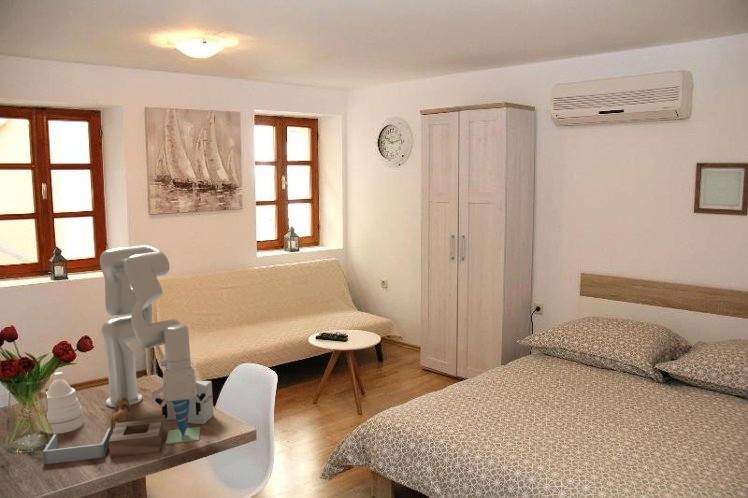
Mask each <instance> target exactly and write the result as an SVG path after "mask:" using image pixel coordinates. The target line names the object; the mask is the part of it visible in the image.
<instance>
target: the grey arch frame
mask: <svg viewBox="0 0 748 498" xmlns="http://www.w3.org/2000/svg"><path fill="white" fill-rule="evenodd" d="M110 437H111V427H110V428H109V427H108V428H107V430H106V432H105V434H104V436H103V438H102V441H101V443H97V444H86V445H79V446H70V447H62V448H60V447H59V445H58V443H59V442H58V434H52V436H51V438H50V440H49V442H48V443H47V444H46V445H45V448H44V449H43V451H42V459H43V465H44V464H45V465H52V464H60V462H61V463H67V462H69V463H70V462H76V461H83V460H84V461H85V460H94V459H100V458H105V457H106V455H107V453H108V450H109V440H110ZM58 447H59V448H58Z"/></svg>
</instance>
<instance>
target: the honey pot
mask: <svg viewBox="0 0 748 498" xmlns="http://www.w3.org/2000/svg"><path fill="white" fill-rule="evenodd" d="M63 374H64V373H63V371H58V372H54V378H56V379H54V380H52V383H50V385H49V387H48V389H47V391H45V392H46V394H47V400H48V412H47V419H48V422H49V423H50V425H51V427H52V429H53V431H54V432H55V433H56V434H57V435H58V434H59V433H60V434H65V432H66V433H68V432H72V431H76V430H77V429H79V428H81V427H82V426H83V425H84V422H85V421H84V411H83V407H82V405H81V403H80V401H79V399H78V397H77V395H76V389H75V388H73V387H71V386H70V384H69V383H68V382H67V381H66V380H65V379H64V378H62V377H63Z"/></svg>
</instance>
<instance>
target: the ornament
mask: <svg viewBox="0 0 748 498" xmlns="http://www.w3.org/2000/svg"><path fill="white" fill-rule="evenodd" d="M172 402H173V404H174V407H173V408H174V411H175V412H176V414H175V415H176V420H177V423H176V424H177V427H178V429H180V431H181V434H182V435H184V434H185V431H186V429H187V428H188V423H187V422H188V413H189V400H180V401H172Z"/></svg>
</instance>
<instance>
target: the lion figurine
mask: <svg viewBox="0 0 748 498" xmlns="http://www.w3.org/2000/svg"><path fill="white" fill-rule="evenodd" d="M114 405H115V407H114V408H116V409H117V411H116V412H113V414H112V415H111V419H110V428H111V435H112V433H113V431H114V428H115V426H116V424H117V423H124V420H126V422H130V412H131V405H129V402H128V400H127V398H125V397H119V399H118V400H117V402H116V403H115V404H114Z"/></svg>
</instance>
